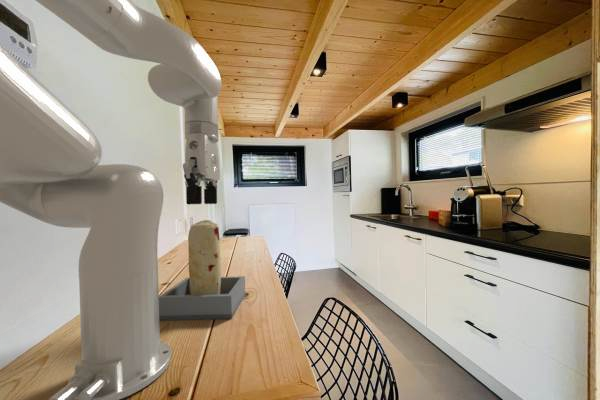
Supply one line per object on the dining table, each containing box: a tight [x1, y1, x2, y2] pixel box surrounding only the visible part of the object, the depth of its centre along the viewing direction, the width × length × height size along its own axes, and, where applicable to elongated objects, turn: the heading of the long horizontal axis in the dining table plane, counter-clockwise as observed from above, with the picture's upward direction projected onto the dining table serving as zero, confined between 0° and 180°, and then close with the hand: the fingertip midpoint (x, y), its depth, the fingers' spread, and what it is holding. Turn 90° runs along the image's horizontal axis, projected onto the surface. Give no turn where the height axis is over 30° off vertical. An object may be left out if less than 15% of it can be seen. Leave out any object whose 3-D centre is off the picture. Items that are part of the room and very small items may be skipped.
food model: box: [187, 219, 222, 295], centre depth 58 cm, size 10×7×20 cm
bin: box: [159, 275, 246, 321], centre depth 58 cm, size 13×16×5 cm
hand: (203, 204), depth 58 cm, fingers open, 9 cm apart
